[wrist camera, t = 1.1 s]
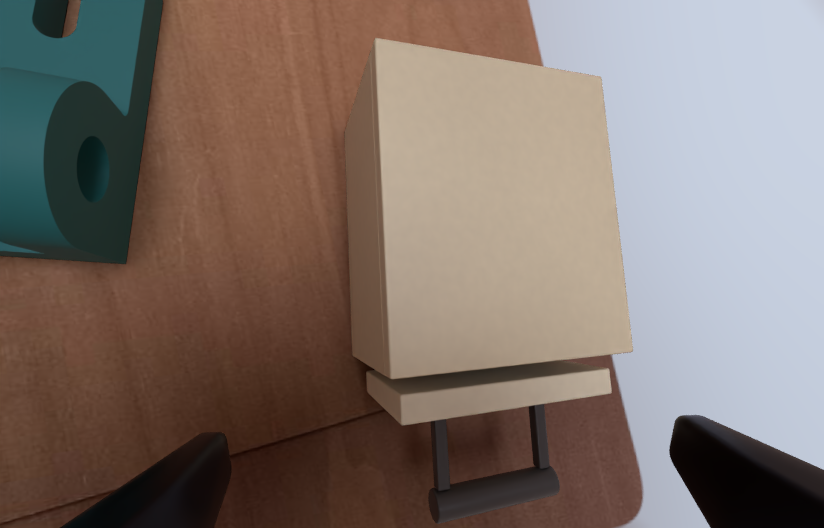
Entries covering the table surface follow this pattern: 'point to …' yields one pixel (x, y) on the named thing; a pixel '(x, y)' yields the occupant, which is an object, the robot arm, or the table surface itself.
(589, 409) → the table surface
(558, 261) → the cabinet
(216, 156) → the table surface
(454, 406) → the drawer
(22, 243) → the bracket
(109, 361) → the table surface
